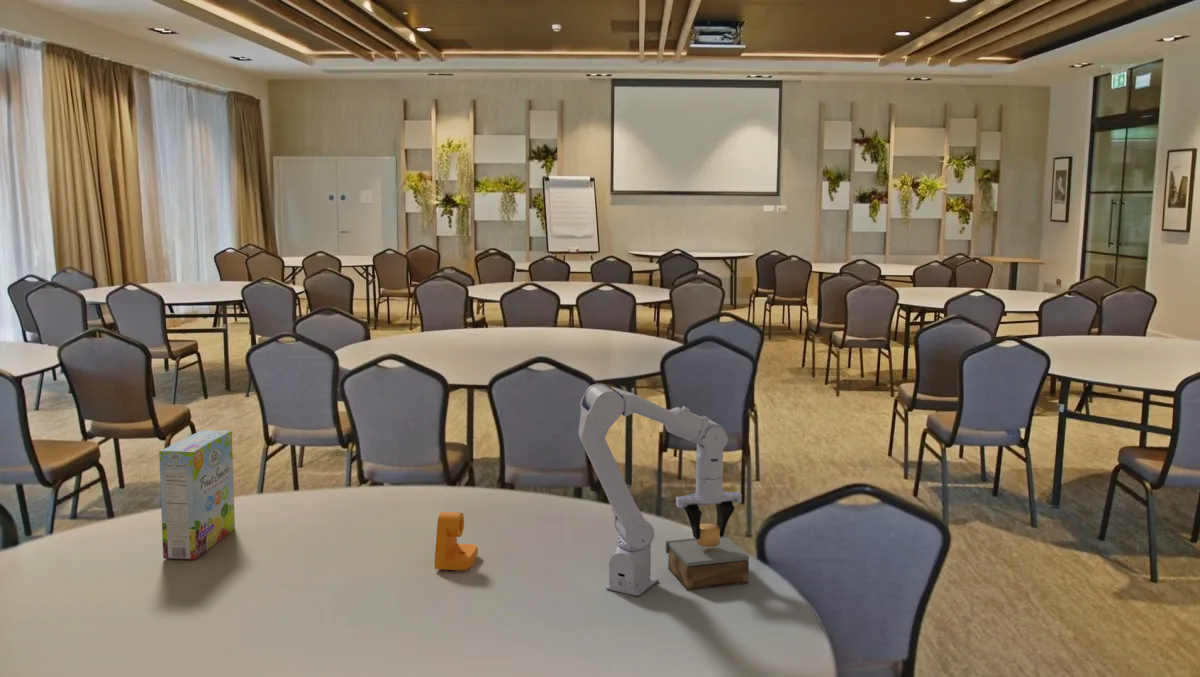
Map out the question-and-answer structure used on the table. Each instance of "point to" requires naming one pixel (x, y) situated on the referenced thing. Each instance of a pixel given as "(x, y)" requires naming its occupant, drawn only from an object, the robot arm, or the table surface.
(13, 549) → the table surface
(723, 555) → the lid
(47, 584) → the table surface
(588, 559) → the table surface
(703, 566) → the box
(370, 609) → the table surface
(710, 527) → the orange rounded block
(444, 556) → the bracket
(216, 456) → the snack box
